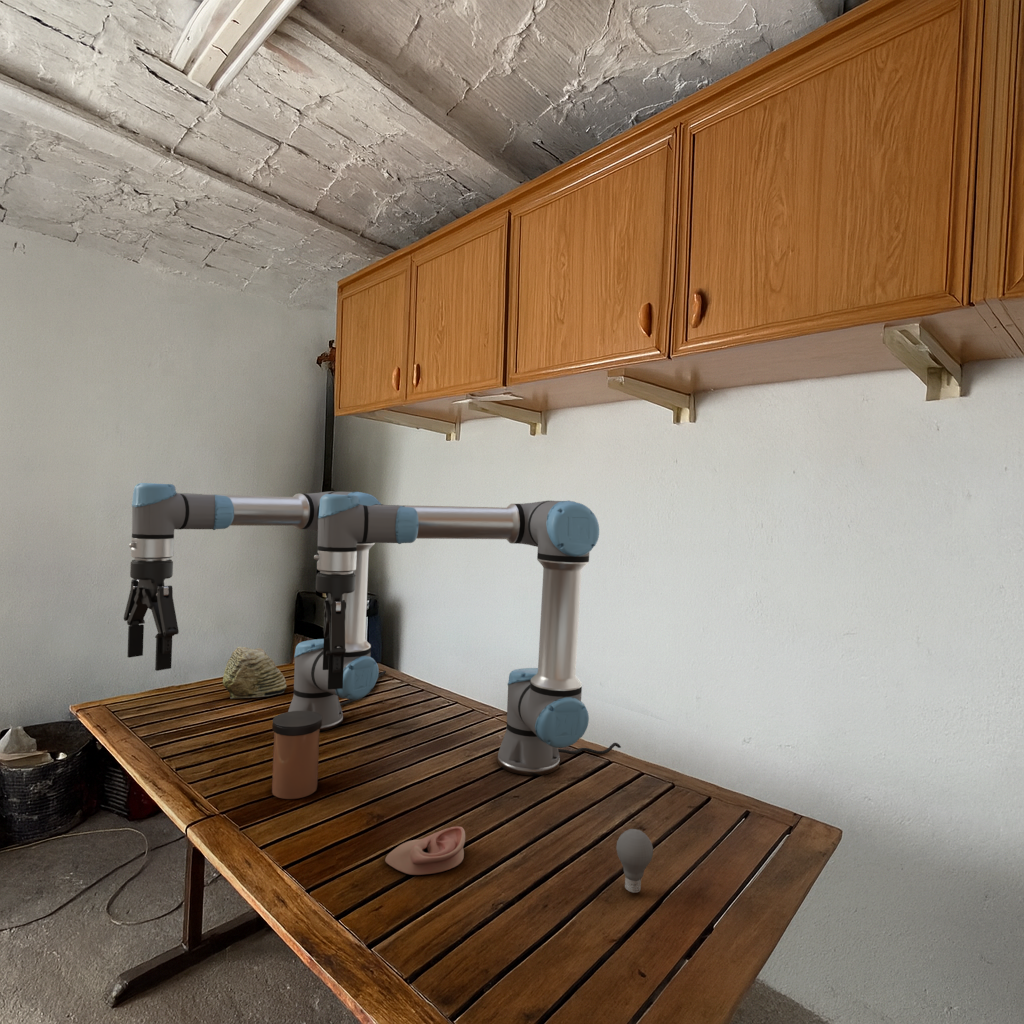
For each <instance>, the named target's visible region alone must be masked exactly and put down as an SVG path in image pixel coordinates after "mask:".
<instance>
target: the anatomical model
mask: <svg viewBox="0 0 1024 1024" xmlns="http://www.w3.org/2000/svg"><path fill="white" fill-rule="evenodd" d="M465 844H466V831H465V829H464V828H463V826H451V827H447V828H444V829H442V830H439V831H436V832H433V833H432V834H430V835H428V836H425V837H423V838H420V839H413V840H412V839H410V840H408V841H405V842H403V843H401V844H399V845H397V847H395V848H394V849H392V850H391V851H390V852H389V853H388V854H387V855H386V856H385V859H384V861H385V863H386V864H387V865H389V866H390V867H391V868H393V869H395V870H397V871H399V872H401V873H403V874H406V875H411V876H421V875H422V876H423V875H431V874H438V873H442V872H445V871H448V870H451V869H453V868H456V867H457V866H459V865H460V864H461V863H462V862H463V860H464V857H465V851H464V846H465Z"/></svg>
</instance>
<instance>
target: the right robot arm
mask: <svg viewBox="0 0 1024 1024" xmlns="http://www.w3.org/2000/svg"><path fill="white" fill-rule="evenodd" d="M599 538H600V525H599V521H598V518H597V517H596V515H595V513H594V512H593V511H592V510H591V508H589V507H588V506H586V505H585V504H583V503H580V502H576V501H573V500H542V501H541V500H540V501H535V502H527V503H526V502H525V503H524V502H523V503H510V504H509V505H508V506H506V507H500V506H499V507H498V506H497V507H493V506H451V505H409V504H407V505H406V504H405V505H400V504H382V503H381V504H374V505H372V506H366V505H359V499H358V497H357V496H356V495H338V494H325V495H323V496H322V497H321V499H320V506H319V516H318V531H317V554H314V555H313V559H314V560H317V562H316V570H317V571H319V572H317V573H316V575H315V576H316V577H315V590H316V592H318V593H320V594H324V595H325V599H324V600H323V609H324V611H323V613H324V614H323V616H324V619H323V620H324V621H323V628H322V631H323V639H324V646H323V670H328V689H343V668H344V654H345V652H346V649H345V611H346V602H345V600H343V594H344V593H351V592H353V591H354V590H355V578H356V575H355V574H354V573H353V571H355V570H356V560H357V547H356V546H357V542H364V543H365V542H374V543H375V544H376V543H377V544H379V543H380V544H398V545H401V544H412V543H414V542H415V541H416V540H417V539H418V540H419V539H422V540H423V539H425V540H427V539H428V540H429V539H433V540H506V541H507V542H508V543H509V544H512V545H513V544H514V545H515V544H519V545H527V546H532V547H535V548H537V555H536V557H537V558H536V560H537V562H538V563H539V564H540V565H541V566H542V568H543V569H542V570H543V571H542V586H541V587H542V589H541V605H540V606H541V607H540V626H539V643H538V658H537V659H538V661H537V667H523V668H516V669H513V670H511V671H510V673H509V674H508V681H507V703H506V704H507V705H506V706H507V707H506V727H505V729H506V730H505V733H504V736H503V738H502V740H501V743H500V746H499V749H498V751H497V764H498V766H499V767H500V768H502V769H503V770H505V771H507V772H510V773H512V774H517V775H520V776H543V775H547V774H548V775H549V774H551V773H553V772H555V771H557V770H558V769H559V767H560V765H561V763H560V761H561V756H560V754H561V753H563V754H568V755H578V754H580V753H581V752H587V753H591V754H595V755H605V754H608V753H609V752H611V751H612V750H613V749H614V747H616V748H618V749H621V748H622V746H621V744H619V743H618V742H613V743H612V744H610V745H609V747H607V748H606V749H604V750H596V749H592V748H590V747H580V748H578V749H576V750H569V749H564V748H568V747H570V746H573V745H575V744H576V743H577V742H578V741H579V740H580V739H581V738H582V737H583V736H584V735H585V733H586V731H587V729H588V725H589V723H590V722H589V720H590V716H589V711H588V709H587V707H586V705H585V703H584V702H583V701H582V694H583V693H582V691H583V689H582V688H583V682H582V681H581V680H580V679H579V677H578V676H577V661H578V658H577V657H578V643H579V642H578V640H579V622H580V608H581V607H580V604H581V587H582V572H583V569H584V568H585V567H586V566H587V565H588V564H590V552H591V551H592V550H593V548H594V547H596V546H597V544H598V541H599Z"/></svg>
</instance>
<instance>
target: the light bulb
mask: <svg viewBox="0 0 1024 1024" xmlns="http://www.w3.org/2000/svg"><path fill="white" fill-rule="evenodd" d="M615 849H616V854H617V857H618V859H619V861H620V863H621V865H622V867H623V873H624V874H623V875H624V876H625V878H624V888H625V890H627V891H628V892H630V893H634V894H635V893H639V892H640V891H641V889H642V887H641V886H642V879H643V877H644V875H645V871H646V868H647V867H648V866H649V864H650V863H651V861H652V859H653V855H654V847H653V843H652V841H651V838H649V836H648V835H647V834H646V833H645V832H643V831H642V830H641V829H636V828H629V829H627V830H625V831H623V832H622V833H621V834H620V835H619V837H618V839H617V841H616V847H615Z"/></svg>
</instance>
